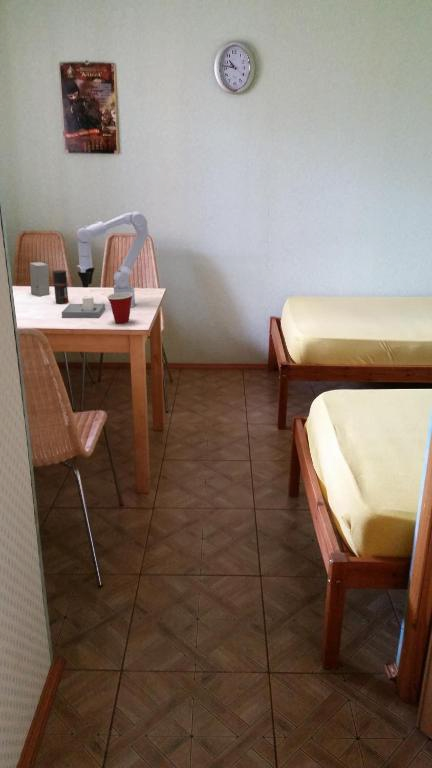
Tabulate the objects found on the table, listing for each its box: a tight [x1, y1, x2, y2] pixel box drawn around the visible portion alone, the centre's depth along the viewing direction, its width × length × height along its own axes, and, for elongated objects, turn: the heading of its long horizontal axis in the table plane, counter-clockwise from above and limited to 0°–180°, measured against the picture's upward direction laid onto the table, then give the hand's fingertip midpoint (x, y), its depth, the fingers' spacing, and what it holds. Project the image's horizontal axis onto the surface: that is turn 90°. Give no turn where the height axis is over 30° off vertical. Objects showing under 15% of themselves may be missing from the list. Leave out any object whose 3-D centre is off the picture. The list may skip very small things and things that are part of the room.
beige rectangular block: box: [81, 295, 95, 311], centre depth 274 cm, size 4×4×8 cm
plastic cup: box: [106, 292, 133, 325], centre depth 262 cm, size 11×11×12 cm
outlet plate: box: [61, 303, 106, 319], centre depth 277 cm, size 16×16×2 cm
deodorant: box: [52, 269, 69, 305], centre depth 295 cm, size 6×6×15 cm
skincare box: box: [29, 261, 51, 297], centre depth 312 cm, size 8×7×16 cm
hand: (87, 285), depth 284 cm, fingers open, 7 cm apart
